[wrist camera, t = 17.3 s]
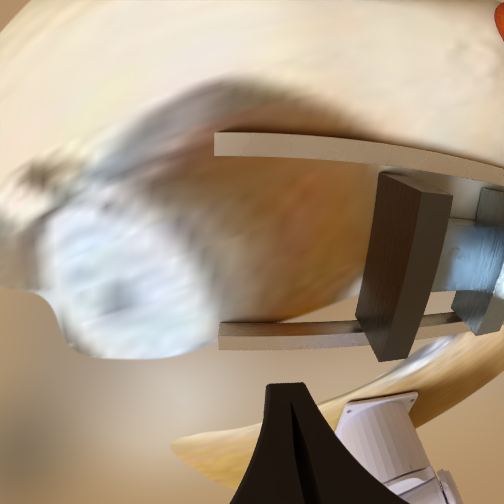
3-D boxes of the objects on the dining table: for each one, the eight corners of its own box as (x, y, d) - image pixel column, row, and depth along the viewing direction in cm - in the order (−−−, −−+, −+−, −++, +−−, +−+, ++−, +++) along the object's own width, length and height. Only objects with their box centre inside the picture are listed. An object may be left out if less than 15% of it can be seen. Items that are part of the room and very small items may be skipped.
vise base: (514, 312, 22) (536, 333, 19) (220, 336, 21) (216, 376, 18) (551, 184, 17) (580, 196, 13) (217, 132, 16) (209, 133, 12)
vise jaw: (474, 305, 21) (506, 337, 17) (354, 315, 21) (378, 362, 16) (504, 192, 17) (548, 212, 13) (378, 172, 17) (421, 191, 12)
